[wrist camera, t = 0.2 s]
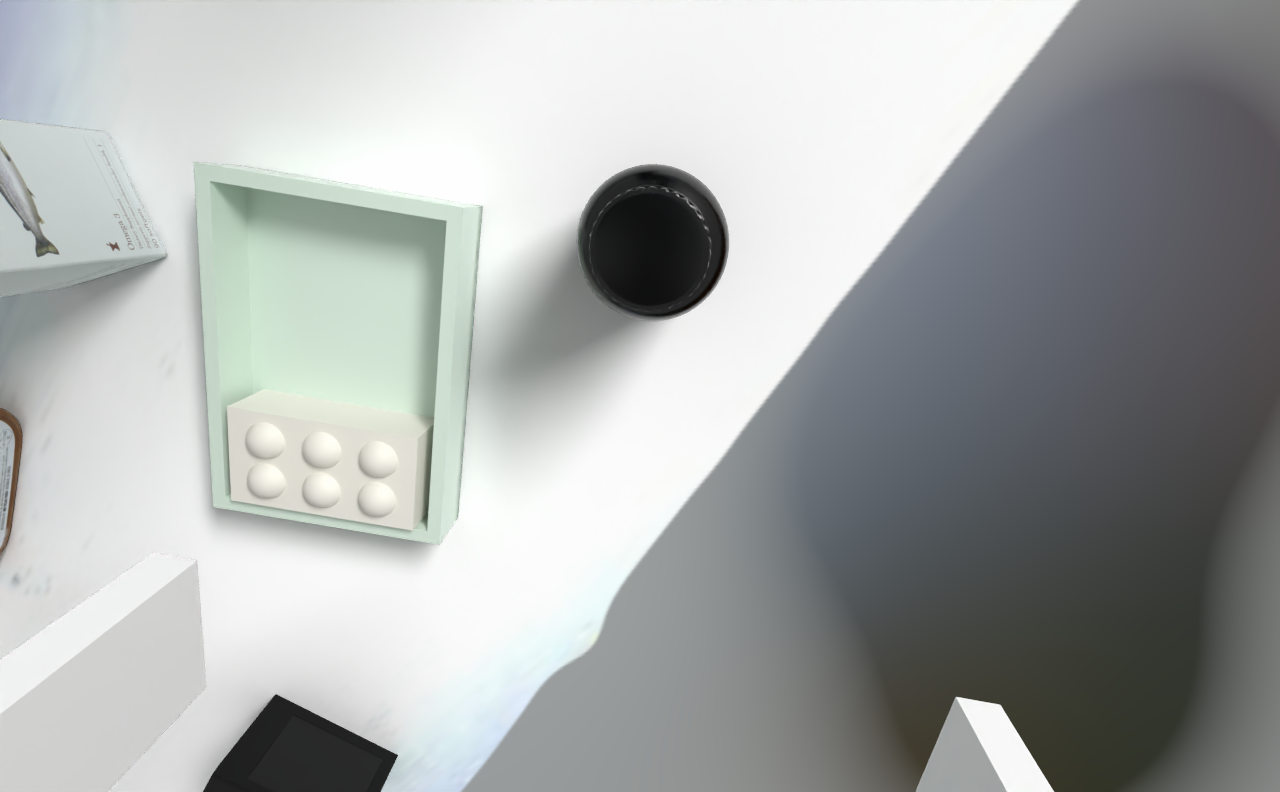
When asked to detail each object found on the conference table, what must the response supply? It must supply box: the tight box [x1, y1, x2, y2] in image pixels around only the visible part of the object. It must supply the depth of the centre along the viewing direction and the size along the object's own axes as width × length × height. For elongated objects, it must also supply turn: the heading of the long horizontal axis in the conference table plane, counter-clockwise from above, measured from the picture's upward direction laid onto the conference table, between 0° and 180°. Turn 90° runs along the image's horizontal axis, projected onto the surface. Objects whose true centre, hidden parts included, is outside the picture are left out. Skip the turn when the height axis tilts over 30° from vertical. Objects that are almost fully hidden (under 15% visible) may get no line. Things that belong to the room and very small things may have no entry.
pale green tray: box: [194, 162, 483, 545], centre depth 37 cm, size 20×14×4 cm
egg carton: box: [227, 389, 434, 531], centre depth 38 cm, size 6×11×4 cm, turn 81°
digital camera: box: [203, 695, 398, 792], centre depth 45 cm, size 10×5×7 cm, turn 58°
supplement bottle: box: [577, 164, 729, 321], centre depth 30 cm, size 7×7×12 cm
